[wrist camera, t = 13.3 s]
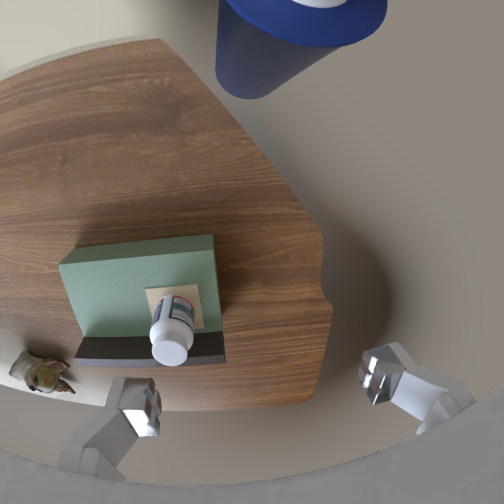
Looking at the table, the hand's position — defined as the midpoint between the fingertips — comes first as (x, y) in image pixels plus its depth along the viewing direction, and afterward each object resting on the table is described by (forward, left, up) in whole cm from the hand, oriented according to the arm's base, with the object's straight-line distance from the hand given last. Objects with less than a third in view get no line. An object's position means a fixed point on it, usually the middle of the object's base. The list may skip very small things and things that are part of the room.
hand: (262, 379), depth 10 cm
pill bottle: (+13, -8, -25) cm, 29 cm away
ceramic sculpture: (+30, -42, -31) cm, 60 cm away
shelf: (+12, -13, -31) cm, 36 cm away
